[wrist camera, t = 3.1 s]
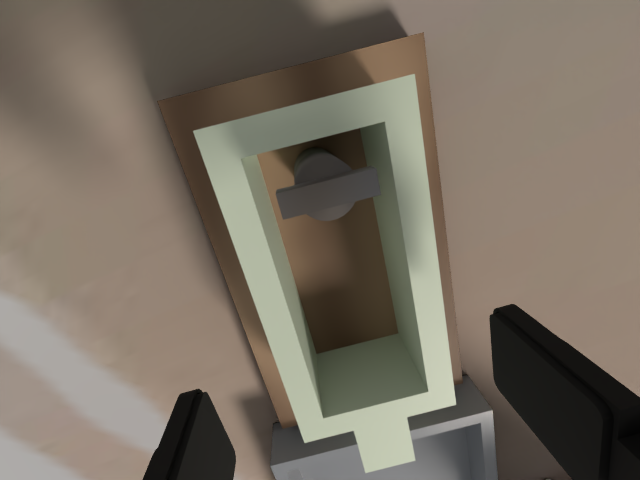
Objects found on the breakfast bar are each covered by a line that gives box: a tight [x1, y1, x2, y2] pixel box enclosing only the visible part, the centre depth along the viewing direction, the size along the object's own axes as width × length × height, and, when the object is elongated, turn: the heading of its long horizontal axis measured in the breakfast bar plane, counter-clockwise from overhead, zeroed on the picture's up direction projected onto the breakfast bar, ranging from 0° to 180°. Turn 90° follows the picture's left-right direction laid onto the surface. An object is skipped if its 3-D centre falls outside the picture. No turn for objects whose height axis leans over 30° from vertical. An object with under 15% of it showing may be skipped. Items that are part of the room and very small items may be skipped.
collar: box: [193, 74, 456, 473], centre depth 15 cm, size 7×17×4 cm, turn 14°
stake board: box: [157, 32, 463, 429], centre depth 15 cm, size 12×20×8 cm, turn 14°
